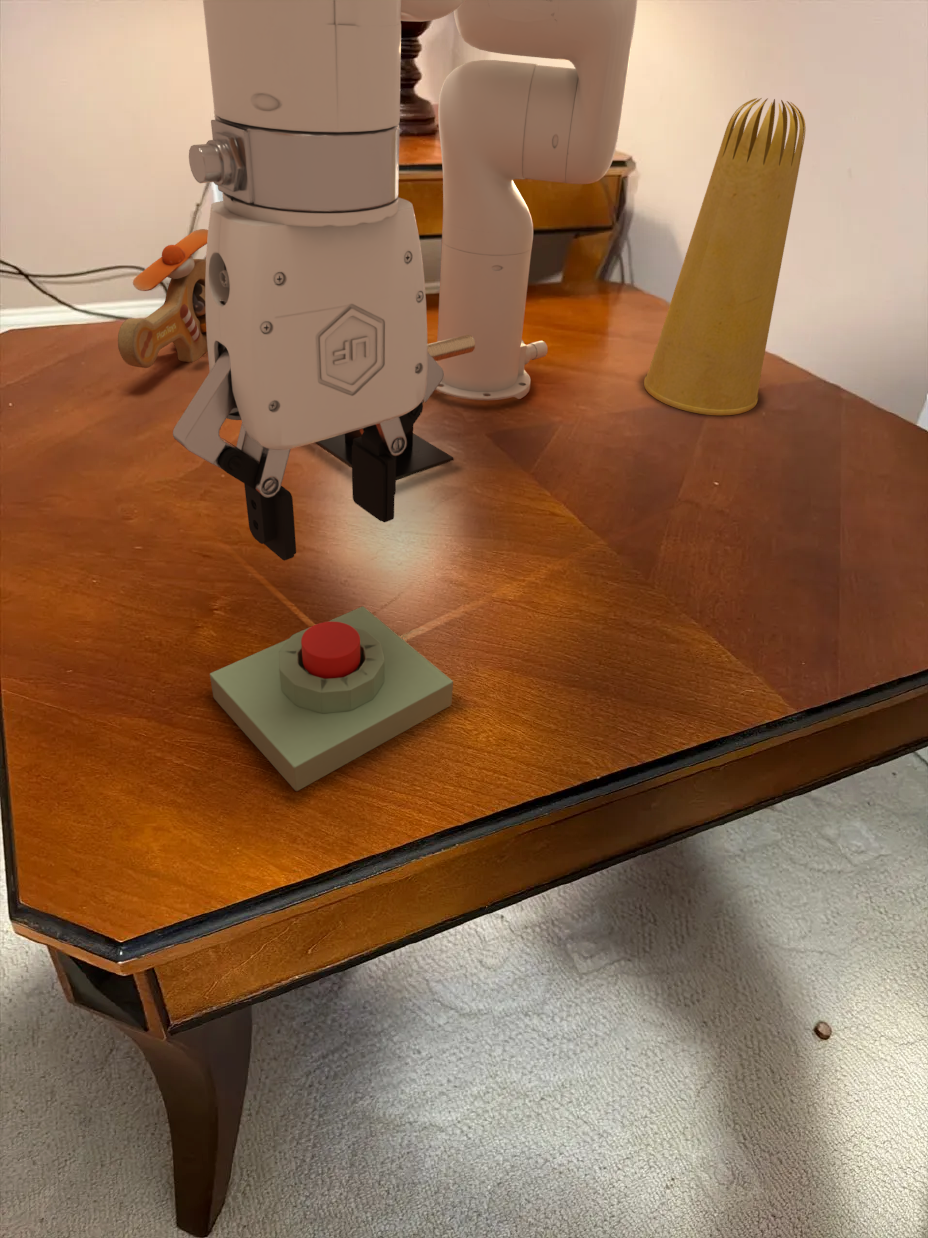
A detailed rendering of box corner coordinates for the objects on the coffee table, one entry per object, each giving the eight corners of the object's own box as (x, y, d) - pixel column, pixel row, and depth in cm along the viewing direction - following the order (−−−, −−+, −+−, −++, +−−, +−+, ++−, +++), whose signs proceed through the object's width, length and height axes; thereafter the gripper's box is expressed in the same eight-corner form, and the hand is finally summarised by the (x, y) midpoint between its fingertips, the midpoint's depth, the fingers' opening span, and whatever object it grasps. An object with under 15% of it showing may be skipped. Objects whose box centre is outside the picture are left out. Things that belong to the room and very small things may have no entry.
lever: (477, 357, 70) (472, 327, 69) (431, 369, 67) (425, 338, 66) (395, 365, 79) (389, 339, 78) (351, 376, 76) (345, 349, 75)
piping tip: (738, 371, 107) (814, 96, 88) (772, 418, 96) (868, 115, 77) (634, 365, 106) (689, 86, 87) (656, 412, 95) (725, 104, 76)
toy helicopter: (255, 343, 103) (244, 224, 95) (174, 411, 87) (153, 274, 79) (193, 334, 104) (176, 215, 96) (102, 400, 88) (73, 263, 80)
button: (339, 635, 55) (338, 614, 54) (371, 664, 53) (371, 642, 52) (291, 656, 53) (289, 635, 52) (323, 687, 51) (322, 666, 50)
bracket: (453, 468, 81) (460, 349, 74) (378, 494, 76) (378, 369, 69) (379, 423, 88) (379, 309, 81) (306, 444, 83) (299, 326, 76)
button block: (363, 629, 61) (362, 585, 59) (451, 705, 56) (455, 660, 53) (213, 698, 55) (205, 651, 52) (296, 792, 49) (292, 745, 46)
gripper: (158, 208, 29) (218, 619, 40) (516, 170, 38) (484, 511, 49) (72, 166, 33) (149, 548, 44) (414, 141, 43) (406, 461, 54)
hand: (326, 526), depth 47 cm, fingers open, 5 cm apart
